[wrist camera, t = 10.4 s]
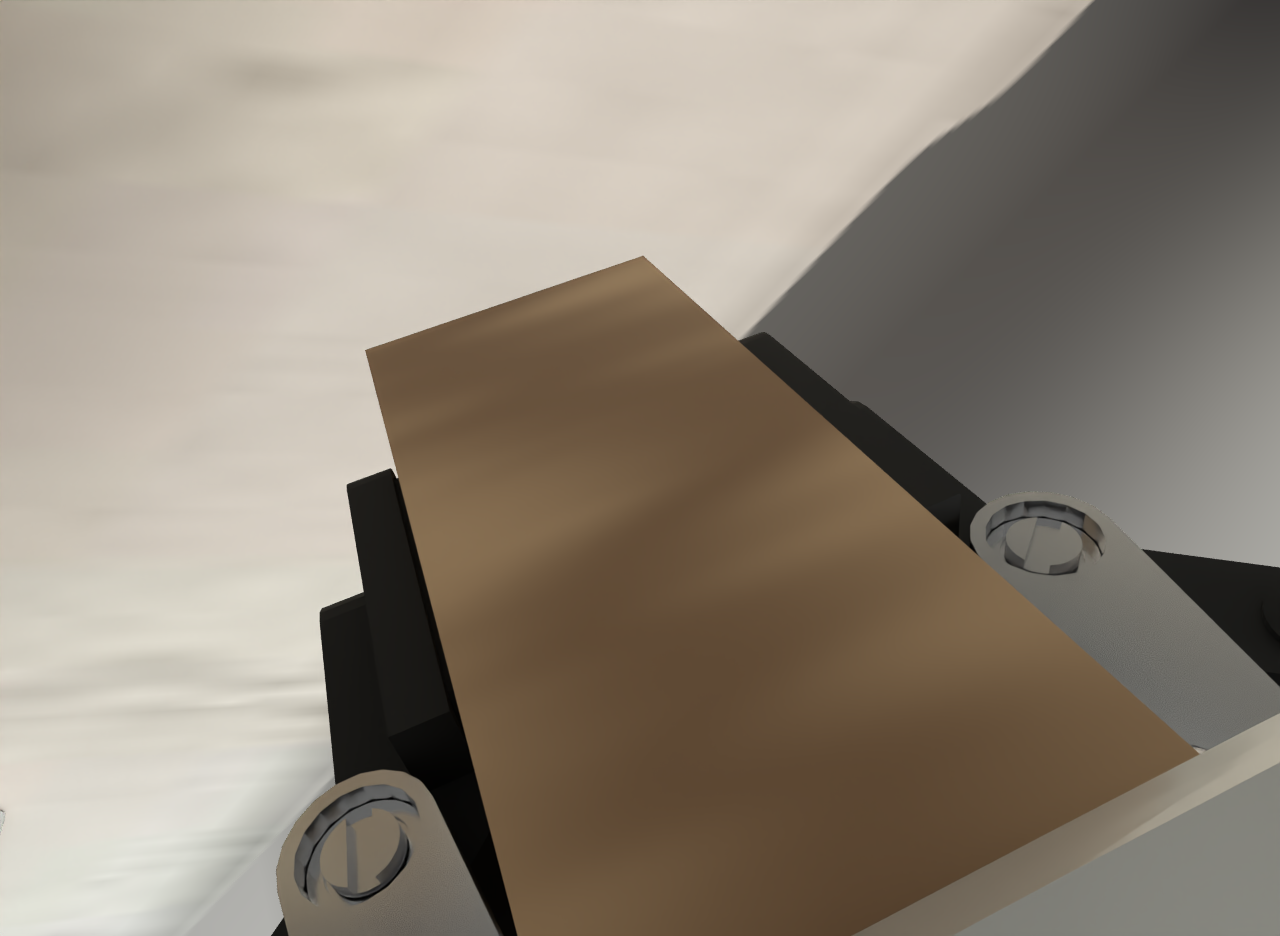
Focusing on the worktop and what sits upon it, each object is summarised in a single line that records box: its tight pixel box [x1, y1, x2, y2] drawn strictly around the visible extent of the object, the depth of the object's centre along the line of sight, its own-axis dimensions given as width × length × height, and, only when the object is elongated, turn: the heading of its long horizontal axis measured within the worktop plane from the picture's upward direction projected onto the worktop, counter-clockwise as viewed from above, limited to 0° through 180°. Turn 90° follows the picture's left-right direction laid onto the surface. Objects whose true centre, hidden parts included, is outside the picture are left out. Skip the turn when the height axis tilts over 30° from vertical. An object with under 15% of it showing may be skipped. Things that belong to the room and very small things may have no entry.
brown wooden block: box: [365, 256, 1199, 936], centre depth 9 cm, size 4×4×10 cm
